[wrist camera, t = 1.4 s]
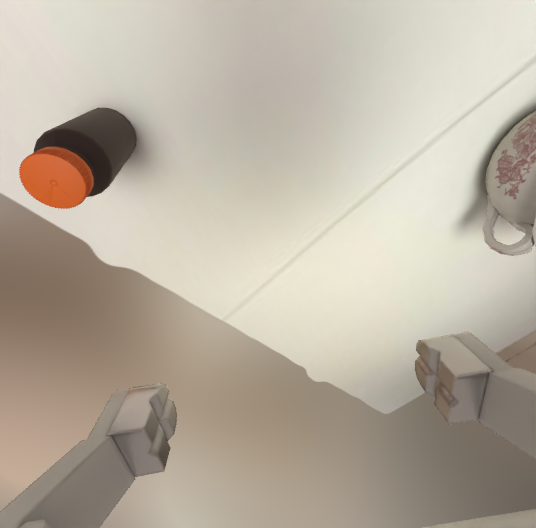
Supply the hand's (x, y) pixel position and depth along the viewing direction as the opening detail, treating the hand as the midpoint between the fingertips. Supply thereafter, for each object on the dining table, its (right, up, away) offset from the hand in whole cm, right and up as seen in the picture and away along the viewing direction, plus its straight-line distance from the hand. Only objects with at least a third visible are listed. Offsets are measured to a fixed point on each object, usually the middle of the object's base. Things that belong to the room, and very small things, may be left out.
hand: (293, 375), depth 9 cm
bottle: (-23, +22, +31) cm, 45 cm away
